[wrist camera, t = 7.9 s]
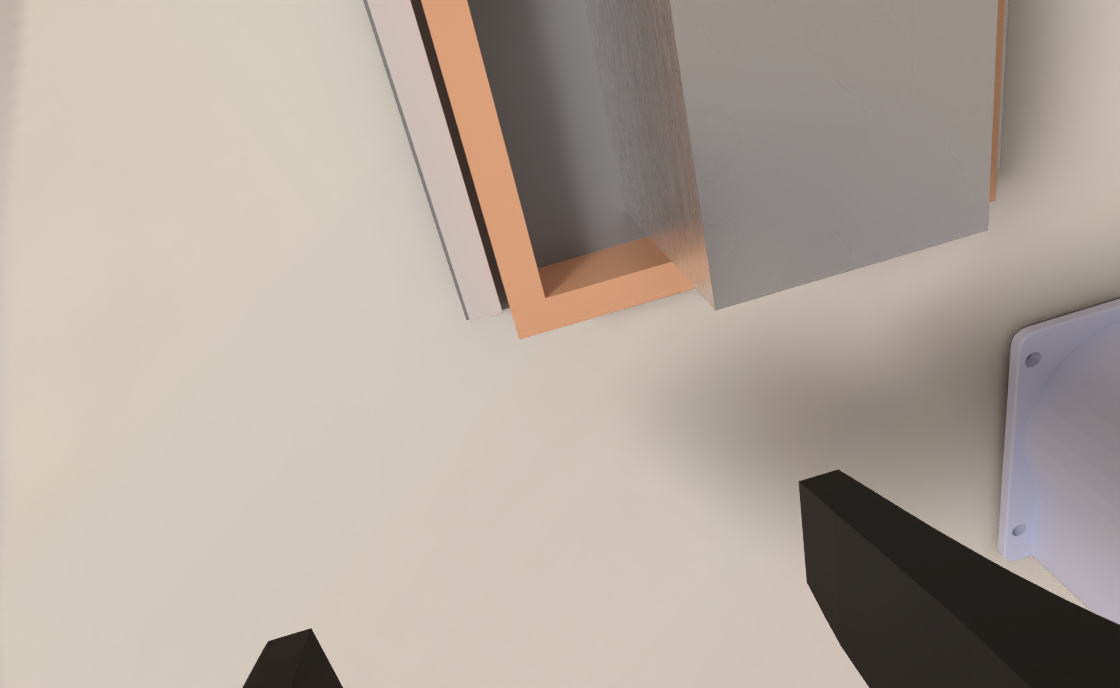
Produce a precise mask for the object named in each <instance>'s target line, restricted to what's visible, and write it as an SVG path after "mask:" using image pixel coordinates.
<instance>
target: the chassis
mask: <svg viewBox="0 0 1120 688" xmlns="http://www.w3.org/2000/svg"><path fill="white" fill-rule="evenodd" d="M363 1H364V4H365V7H366V10H367V13H368V16H369V19H370V22H371V25H372V29H373V32H374V35H375V38H376V41H377V44H378V47H379V50H380V53H381V56H382V60H383V63H384V66H385V69H386V72H387V75H388V78H389V81H390V84H391V87H392V90H393V94H394V97H395V100H396V103H397V106H398V109H399V112H400V115H401V118H402V121H403V125H404V128H405V131H406V134H407V137H408V140H409V143H410V146H411V149H412V152H413V156H414V159H415V162H416V165H417V168H418V171H419V174H420V177H421V180H422V183H423V187H424V190H425V193H426V196H427V199H428V202H429V205H430V208H431V211H432V214H433V217H434V221H435V224H436V227H437V230H438V233H439V236H440V239H441V242H442V245H443V248H444V252H445V255H446V258H447V261H448V264H449V267H450V270H451V273H452V276H453V279H454V283H455V286H456V289H457V292H458V295H459V298H460V301H461V304H462V307H463V310H464V314H465V317H466V320H470V322H472V321H476V320H479V319H483V318H486V317H490V316H493V315H497V314H500V313H503V312H502V310H504V309H507V308H510V310H511V313H512V317H513V320H514V323H515V326H516V330H517V333H518V336H519V339H523V338H526V337H530V336H533V335H536V334H540V333H543V332H547V331H550V330H554V329H557V328H560V327H564V326H567V325H571V324H574V323H578V322H581V321H584V320H588V319H591V318H595V317H598V316H601V315H605V314H608V313H612V312H615V311H619V310H622V309H625V308H629V307H632V306H636V305H639V304H643V303H646V302H649V301H653V300H656V299H660V298H663V297H666V296H670V295H673V294H677V293H680V292H684V291H687V290H690V289H694V288H695V287H694V286H693V285H692V284H691V283H690V282H689V281H688V280H687V279H686V277H685V276H684V275H683V274H682V273H681V272H680V271H679V270H678V269H677V267H676V266H675V265H674V264H673V263H672V262H671V261H670V260H669V259H668V257H667V256H666V255H665V254H664V253H663V252H662V251H661V250H660V248H659V247H658V246H657V245H656V244H655V243H654V242H653V241H652V240H651V238H650V237H649V236H648V235H647V234H646V233H645V232H644V231H643V230H642V228H641V227H640V226H639V225H638V224H637V223H636V222H635V221H634V220H633V218H632V217H631V216H630V215H629V214H628V213H627V212H626V211H625V208H624V203H623V198H622V193H621V188H620V183H619V178H618V173H617V168H616V162H615V157H614V152H613V147H612V142H611V137H610V132H609V127H608V122H607V117H606V111H605V106H604V101H603V96H602V91H601V86H600V81H599V76H598V71H597V65H596V60H595V55H594V50H593V45H592V40H591V35H590V30H589V25H588V20H587V14H586V9H585V4H584V0H363ZM1008 2H1009V0H998V14H997V36H996V59H995V82H994V104H993V127H992V150H991V172H990V195H989V202H991V201H995V196H996V176H997V169H1000V159H1001V139H1002V119H1003V100H1004V80H1005V60H1006V41H1007V21H1008Z"/></svg>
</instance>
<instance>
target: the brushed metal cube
mask: <svg viewBox="0 0 1120 688" xmlns="http://www.w3.org/2000/svg"><path fill="white" fill-rule="evenodd" d="M584 4H585V9H586V14H587V20H588V25H589V30H590V35H591V40H592V45H593V50H594V55H595V60H596V65H597V71H598V76H599V81H600V86H601V91H602V96H603V101H604V106H605V111H606V117H607V122H608V127H609V132H610V137H611V142H612V147H613V152H614V157H615V162H616V168H617V173H618V178H619V183H620V188H621V193H622V198H623V203H624V208H625V211H626V212H627V213H628V214H629V215H630V216H631V217H632V218H633V220H634V221H635V222H636V223H637V224H638V225H639V226H640V227H641V228H642V230H643V231H644V232H645V233H646V234H647V235H648V236H649V237H650V238H651V240H652V241H653V242H654V243H655V244H656V245H657V246H658V247H659V248H660V250H661V251H662V252H663V253H664V254H665V255H666V256H667V257H668V259H669V260H670V261H671V262H672V263H673V264H674V265H675V266H676V267H677V269H678V270H679V271H680V272H681V273H682V274H683V275H684V276H685V277H686V279H687V280H688V281H689V282H690V283H691V284H692V285H693V286H694V287H695V289H696V290H697V291H698V292H699V293H700V294H701V295H702V296H703V297H704V299H705V300H706V301H707V302H708V303H709V304H710V305H711V306H712V308H713V309H714V310H718V309H722V308H725V307H729V306H732V305H735V304H739V303H742V302H746V301H749V300H752V299H756V298H759V297H762V296H766V295H769V294H773V293H776V292H779V291H783V290H786V289H790V288H793V287H796V286H800V285H803V284H806V283H810V282H813V281H817V280H820V279H823V278H827V277H830V276H834V275H837V274H840V273H844V272H847V271H850V270H854V269H857V268H861V267H864V266H867V265H871V264H874V263H878V262H881V261H884V260H888V259H891V258H895V257H898V256H901V255H905V254H908V253H911V252H915V251H918V250H922V249H925V248H928V247H932V246H935V245H939V244H942V243H945V242H949V241H952V240H955V239H959V238H962V237H966V236H969V235H972V234H976V233H979V232H983V231H986V230H988V218H989V195H990V172H991V150H992V127H993V104H994V82H995V59H996V36H997V14H998V0H584Z"/></svg>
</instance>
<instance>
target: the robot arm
mask: <svg viewBox="0 0 1120 688" xmlns="http://www.w3.org/2000/svg"><path fill="white" fill-rule="evenodd" d="M1030 354H1031V356H1030V357H1029V358H1028V359H1027V360H1026V358H1027V357H1028V356H1029V355H1030ZM799 491H800V503H801V515H802V528H803V540H804V552H805V565H806V577H807V583H808V585H809V587H810V589H811V591H812V593H813V595H814V597H815V599H816V601H817V602H818V604H819V606H820V608H821V610H822V612H823V614H824V616H825V618H826V620H827V621H828V623H829V625H830V627H831V629H832V630H833V632H834V634H835V636H836V638H837V640H838V641H839V643H840V645H841V647H842V648H843V650H844V651H845V653H846V654H847V656H848V657H849V658H850V660H851V661H852V663H853V664H854V666H855V667H856V669H857V670H858V672H859V673H860V675H861V676H862V677H863V679H864V680H865V682H866V683H867V685H868V686H869V688H1120V299H1117V300H1113V301H1110V302H1107V303H1104V304H1100V305H1097V306H1094V307H1090V308H1087V309H1084V310H1080V311H1077V312H1074V313H1071V314H1067V315H1064V316H1061V317H1057V318H1054V319H1051V320H1047V321H1044V322H1041V323H1038V324H1034V325H1031V326H1028V327H1025V328H1023V329H1021V330H1020V331H1019V332H1018V333H1017V334H1016V335H1015V336H1014V338H1013V339H1012V343H1011V351H1010V367H1009V382H1008V397H1007V413H1006V428H1005V443H1004V459H1003V474H1002V489H1001V505H1000V520H999V535H998V552H999V553H1000V554H1001V555H1002V556H1003V557H1004V558H1005V559H1006V560H1007V561H1016V560H1020V559H1023V558H1026V557H1029V556H1033V557H1034V558H1035V559H1036V560H1037V561H1038V562H1039V563H1040V564H1041V565H1042V566H1043V567H1044V568H1045V569H1047V570H1048V571H1049V572H1050V573H1051V574H1052V575H1053V576H1054V577H1055V578H1056V579H1057V580H1058V581H1059V582H1060V583H1061V584H1062V585H1064V586H1065V587H1066V588H1067V589H1068V590H1069V591H1070V592H1071V593H1072V594H1073V595H1074V596H1075V597H1076V598H1077V599H1078V600H1079V601H1080V602H1082V603H1083V604H1084V605H1085V606H1086V607H1087V608H1088V609H1089V610H1090V611H1091V612H1090V611H1088V610H1086V609H1084V608H1082V607H1080V606H1078V605H1076V604H1074V603H1071V602H1069V601H1067V600H1065V599H1063V598H1061V597H1059V596H1057V595H1055V594H1053V593H1051V592H1049V591H1047V590H1045V589H1043V588H1041V587H1040V586H1038V585H1036V584H1034V583H1032V582H1030V581H1028V580H1026V579H1024V578H1022V577H1020V576H1018V575H1016V574H1014V573H1012V572H1010V571H1009V570H1007V569H1005V568H1003V567H1001V566H999V565H998V564H996V563H994V562H992V561H990V560H988V559H987V558H985V557H983V556H981V555H980V554H978V553H976V552H974V551H973V550H971V549H969V548H967V547H966V546H964V545H962V544H960V543H959V542H957V541H955V540H953V539H952V538H950V537H948V536H946V535H945V534H943V533H941V532H940V531H938V530H936V529H935V528H933V527H931V526H930V525H928V524H926V523H925V522H923V521H921V520H920V519H918V518H916V517H915V516H913V515H911V514H910V513H908V512H906V511H905V510H903V509H902V508H900V507H898V506H897V505H895V504H893V503H892V502H890V501H889V500H887V499H885V498H884V497H882V496H881V495H879V494H877V493H876V492H874V491H872V490H871V489H869V488H868V487H866V486H864V485H863V484H861V483H860V482H858V481H856V480H855V479H853V478H851V477H850V476H848V475H846V474H845V473H843V472H841V471H840V470H835V471H832V472H829V473H825V474H822V475H819V476H815V477H812V478H809V479H805V480H802V481H799ZM243 688H343V687H342V685H341V683H340V681H339V679H338V678H337V676H336V674H335V672H334V670H333V668H332V666H331V664H330V663H329V661H328V659H327V657H326V655H325V653H324V651H323V649H322V648H321V646H320V644H319V642H318V640H317V638H316V636H315V634H314V633H313V631H312V629H307V630H304V631H301V632H297V633H294V634H291V635H287V636H284V637H281V638H278V639H274V640H271V641H268V643H267V644H266V646H265V648H264V649H263V651H262V653H261V655H260V656H259V658H258V660H257V662H256V664H255V665H254V667H253V669H252V671H251V673H250V675H249V677H248V678H247V680H246V682H245V684H244V686H243Z"/></svg>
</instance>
